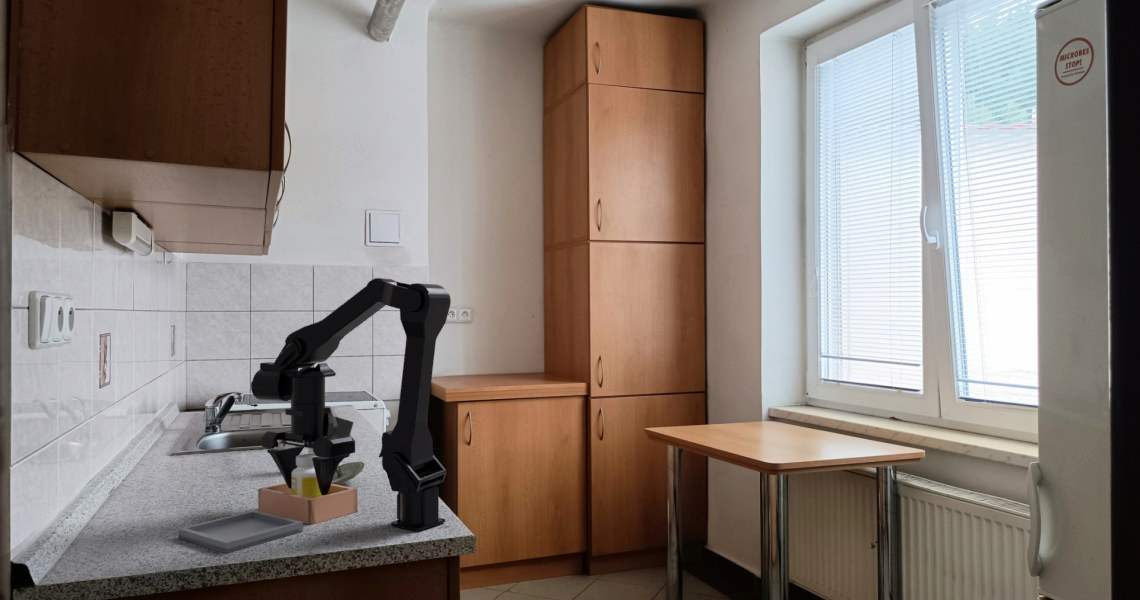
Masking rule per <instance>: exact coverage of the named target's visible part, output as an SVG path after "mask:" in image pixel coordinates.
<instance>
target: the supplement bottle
mask: <svg viewBox="0 0 1140 600" xmlns="http://www.w3.org/2000/svg"><path fill="white" fill-rule="evenodd" d="M313 457H318V456H316V455H315V454H308V453H307V454H305V453H304V454H300V455H298V456H296V465H297V468H296V469H294V470H293V471H292V476H291V477H292V486H291V487H292V494H293V495H298V496H303V497H307V498H316V497H321V496H324V495H321V493H320V490H319V486H318V482H317V478H316V473H315V469H314V465H313V461H312V458H313Z"/></svg>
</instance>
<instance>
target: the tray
mask: <svg viewBox="0 0 1140 600" xmlns="http://www.w3.org/2000/svg"><path fill="white" fill-rule="evenodd" d="M177 531H178V532H177V533H178V535H177V536H178V537H177V539H179V540H182V541H185V542H189V543H191V544H194V545H198V546H201V547H205V548H208V549H210V550H214V551H218V552H221V553H224V554H229V553H232V552H235V551H239V550H240V551H241V550H242V549H243V550H244V549H247V548H251V547H253V546H257V545H261V544H264V543H268V542H271V541H274V540H278V539H281V538H285V537H289V536H293V535H295V534H298V533H299V534H300V533H303V532H304V523H303V522H300V521H296V520H292V519H288V518H284V517H280V516H276V515H272V514H268V513H264V512H260V511H258V510H255V509H254V510H250V511H246V512H241V513H238V514H234V515H229V516H226V517H221V518H218V519H213V520H208V521H205V522H201V523H196V524H192V525H188V526H185V527H179V528H178V530H177Z"/></svg>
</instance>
